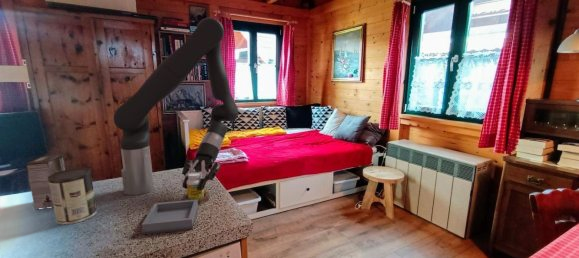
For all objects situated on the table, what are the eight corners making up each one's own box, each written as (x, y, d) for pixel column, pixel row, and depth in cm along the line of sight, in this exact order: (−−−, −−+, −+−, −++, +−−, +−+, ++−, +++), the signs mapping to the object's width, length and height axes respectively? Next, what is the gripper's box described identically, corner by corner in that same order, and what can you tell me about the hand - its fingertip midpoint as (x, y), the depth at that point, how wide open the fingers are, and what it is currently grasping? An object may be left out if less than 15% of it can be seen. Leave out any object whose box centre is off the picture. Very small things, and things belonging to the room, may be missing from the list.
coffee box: (50, 198, 96) (42, 155, 93) (71, 196, 97) (64, 154, 94) (34, 210, 87) (24, 163, 84) (57, 207, 89) (49, 161, 86)
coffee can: (82, 206, 90) (76, 166, 87) (105, 211, 86) (99, 169, 84) (47, 221, 80) (38, 177, 78) (70, 227, 77) (62, 181, 74)
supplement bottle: (201, 194, 98) (199, 170, 96) (206, 200, 94) (204, 174, 92) (186, 198, 95) (184, 173, 93) (190, 204, 91) (187, 177, 89)
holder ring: (180, 206, 89) (180, 202, 89) (185, 195, 97) (184, 191, 97) (207, 203, 91) (207, 199, 91) (209, 193, 99) (209, 189, 99)
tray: (142, 234, 73) (141, 224, 73) (155, 211, 86) (155, 203, 85) (192, 229, 76) (191, 219, 75) (198, 207, 88) (197, 199, 88)
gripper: (189, 140, 100) (168, 182, 91) (222, 143, 95) (204, 187, 87) (198, 150, 106) (180, 190, 97) (230, 153, 101) (214, 195, 93)
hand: (191, 188), depth 92 cm, fingers closed on supplement bottle, 5 cm apart
